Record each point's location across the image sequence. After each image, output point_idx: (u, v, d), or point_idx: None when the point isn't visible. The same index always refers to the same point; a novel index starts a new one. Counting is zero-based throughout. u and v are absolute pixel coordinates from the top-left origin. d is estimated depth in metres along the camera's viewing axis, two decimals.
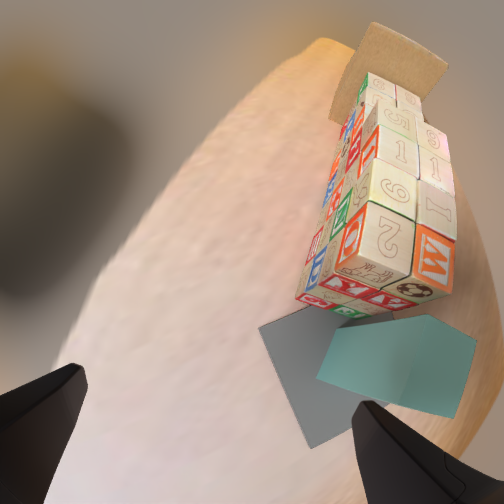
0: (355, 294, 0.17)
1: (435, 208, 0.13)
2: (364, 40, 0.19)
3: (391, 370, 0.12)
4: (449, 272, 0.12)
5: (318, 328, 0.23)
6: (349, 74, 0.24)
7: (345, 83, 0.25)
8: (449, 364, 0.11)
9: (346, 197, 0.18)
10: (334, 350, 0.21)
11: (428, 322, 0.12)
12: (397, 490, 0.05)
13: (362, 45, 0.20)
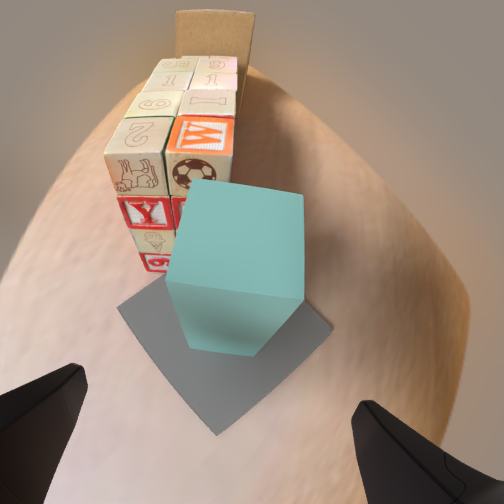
0: (165, 223, 0.16)
1: (202, 101, 0.14)
2: (176, 29, 0.23)
3: None
4: (226, 139, 0.13)
5: None
6: None
7: None
8: (252, 224, 0.11)
9: None
10: None
11: (196, 185, 0.11)
12: (397, 490, 0.05)
13: (176, 34, 0.23)
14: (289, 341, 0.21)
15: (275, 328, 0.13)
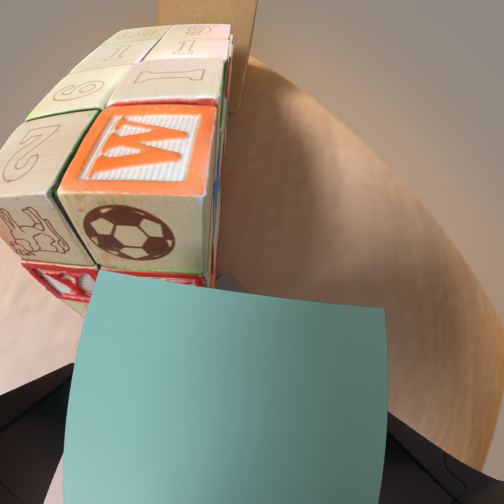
0: None
1: (158, 76, 0.07)
2: (159, 2, 0.16)
3: None
4: (194, 151, 0.05)
5: None
6: None
7: None
8: (256, 428, 0.03)
9: None
10: None
11: (106, 294, 0.04)
12: (397, 490, 0.05)
13: (159, 8, 0.16)
14: None
15: None
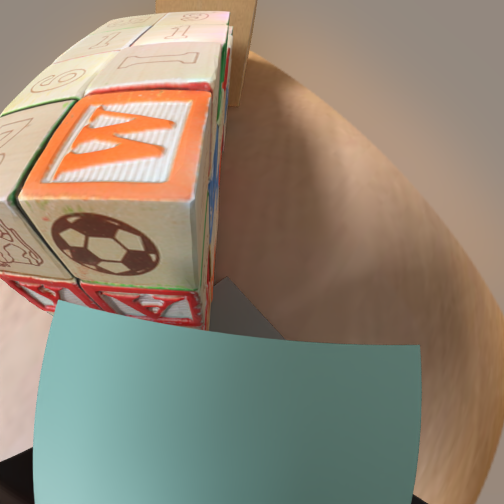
0: None
1: (144, 61, 0.05)
2: None
3: None
4: (181, 144, 0.04)
5: None
6: None
7: None
8: (260, 502, 0.02)
9: None
10: None
11: (66, 333, 0.03)
12: None
13: None
14: None
15: None
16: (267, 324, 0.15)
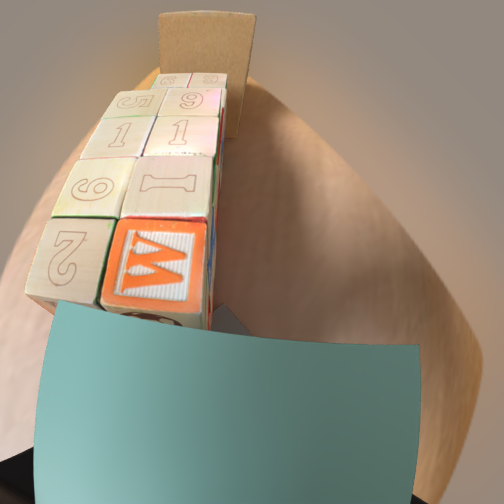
0: None
1: (158, 184, 0.09)
2: (160, 36, 0.19)
3: None
4: (191, 274, 0.08)
5: None
6: None
7: None
8: (259, 502, 0.02)
9: None
10: None
11: (67, 332, 0.03)
12: None
13: (160, 43, 0.19)
14: None
15: None
16: None
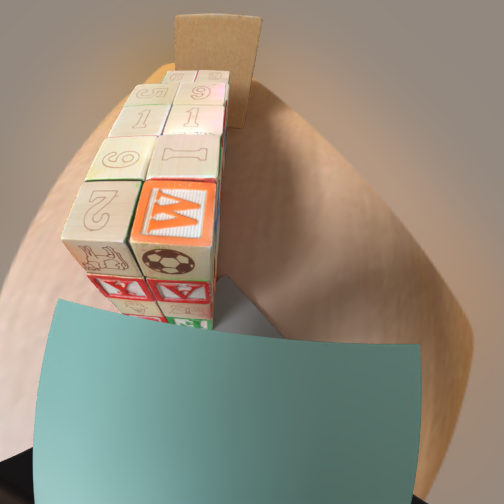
0: (145, 295, 0.14)
1: (177, 155, 0.12)
2: (176, 36, 0.21)
3: None
4: (204, 219, 0.10)
5: None
6: None
7: None
8: (260, 502, 0.02)
9: None
10: None
11: (66, 332, 0.03)
12: None
13: (176, 42, 0.22)
14: None
15: None
16: (254, 308, 0.22)
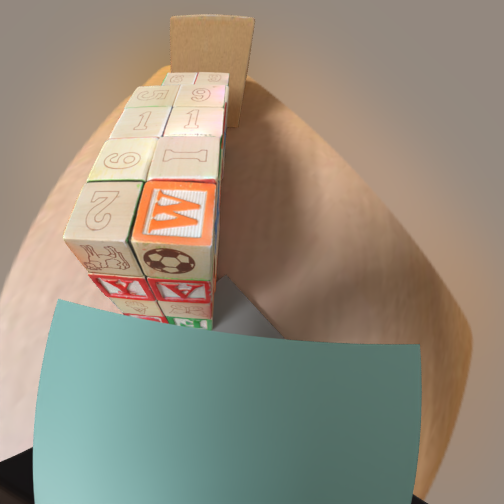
0: (146, 295, 0.14)
1: (177, 156, 0.12)
2: (171, 36, 0.22)
3: None
4: (205, 219, 0.11)
5: None
6: None
7: None
8: (260, 502, 0.02)
9: None
10: None
11: (66, 332, 0.03)
12: None
13: (171, 42, 0.22)
14: None
15: None
16: (254, 308, 0.22)
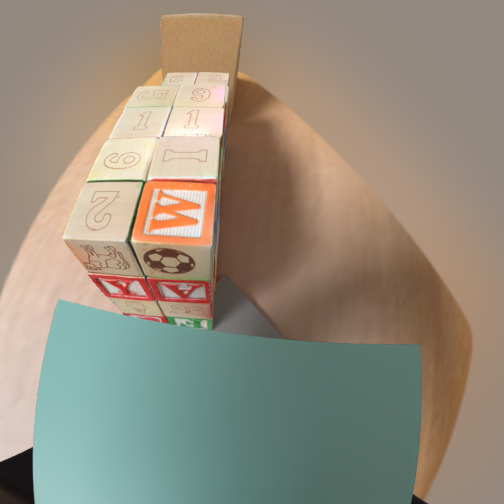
0: (146, 295, 0.14)
1: (177, 156, 0.12)
2: (161, 35, 0.22)
3: None
4: (205, 219, 0.11)
5: None
6: (163, 72, 0.26)
7: None
8: (260, 502, 0.02)
9: None
10: None
11: (66, 332, 0.03)
12: None
13: (162, 40, 0.22)
14: None
15: None
16: (254, 308, 0.22)
